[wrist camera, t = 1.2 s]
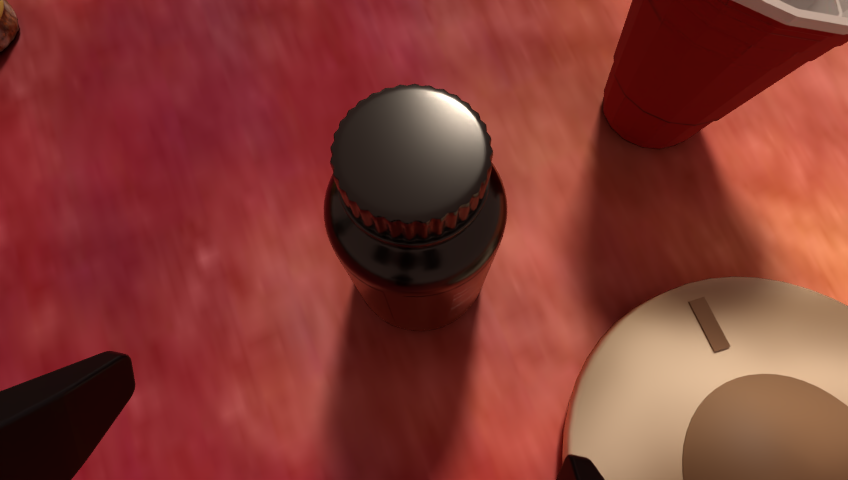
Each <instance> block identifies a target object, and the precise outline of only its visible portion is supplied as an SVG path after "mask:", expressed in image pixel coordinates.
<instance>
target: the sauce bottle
mask: <svg viewBox="0 0 848 480" xmlns="http://www.w3.org/2000/svg"><path fill="white" fill-rule="evenodd" d="M18 30H19V27H18V19H17V17H16V14H15V12H14V10H13V9H12V7H11V5H10V4H9V3H8V1H7V0H0V52H1V51H3V50H4V48H6V47H7V46H8V45H9V43H10V42H11V41H12V40H13V39H14V37H15V35H16V33H17V31H18Z"/></svg>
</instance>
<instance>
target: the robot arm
mask: <svg viewBox="0 0 848 480" xmlns="http://www.w3.org/2000/svg"><path fill="white" fill-rule="evenodd" d="M134 389H135V379H134V373H133V367H132V361H131V358H130V357H129V356H128V355H126V354H123V353H118V352H114V351H106V352H103V353H100V354H98V355H95V356H92V357H90V358H87V359H84V360H82V361H79V362H77V363H74V364H71V365H69V366H66V367H63V368H61V369H58V370H55V371H53V372H50V373H48V374H45V375H42V376H40V377H37V378H34V379H32V380H29V381H26V382H24V383H21V384H19V385H16V386H13V387H11V388H8V389H5V390H3V391H0V480H71V479H72V478H73V477H74V475H75V474H76V473H77V472H78V470H79V469H80V468H81V467H82V465H83V464H84V463H85V461H86V460H87V459H88V457H89V456H90V455H91V453H92V452H93V450H94V449H95V448H96V446H97V445H98V443H99V442H100V441H101V439H102V438H103V436H104V435H105V433H106V432H107V431H108V429H109V428H110V426H111V425H112V424H113V422H114V421H115V419H116V418H117V416H118V415H119V414H120V412H121V411H122V409H123V408H124V407H125V405H126V404H127V402H128V401H129V399H130V398H131V396H132V395H133V392H134ZM556 480H605V479H604V478H603V476H602V475H601V473H600V472H599V471H598V469H597V468H596V466H595V465H594V463H593V462H592V461H591V460H590V459H588V458H586V457H582V456H577V455H573V454H569V455H567V456H566V458H565V460H564V462H563V464H562V467H561V469H560V472H559V474H558V477H557V479H556Z"/></svg>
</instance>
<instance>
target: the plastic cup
mask: <svg viewBox="0 0 848 480" xmlns="http://www.w3.org/2000/svg"><path fill="white" fill-rule="evenodd" d="M846 42H848V0H632V3H631V6H630V9H629V12H628V15H627V18H626V21H625V24H624V27H623V30H622V33H621V36H620V39H619V42H618V45H617V48H616V51H615V54H614V63H613V65H612V68H611V71H610V74H609V77H608V80H607V83H606V86H605V89H604V98H603V113H604V115H605V117H606V119H607V121H608V123H609V125H610V127H611V128H612V129H613V130H615V131H616V132H617V133H618V134H619V135H620V136H621V137H622V138H623V139H625V140H627V141H629V142H632V143H634V144H636V145H638V146H640V147H648V148H656V149H661V148H665V147H669V146H673V145H676V144H678V143H679V142H683V141H685V140H687V139H688V138H690V137H691V136H692V135H694V134H695V133H697V132H698V131H700V130H701V129H703V128H704V127H706V126H707V125H708V124H710V123H711V122H713V121H717V120H719V119H721V118H722V117H724V116H725V115H727V114H728V113H730V112H731V111H733V110H734V109H736V108H737V107H739V106H740V105H742V104H744V103H745V102H747V101H748V100H750V99H751V98H753V97H754V96H756V95H757V94H759V93H760V92H762V91H763V90H765V89H766V88H768V87H770V86H771V85H773V84H774V83H776V82H777V81H779V80H780V79H782V78H783V77H785V76H786V75H788V74H789V73H791V72H792V71H794V70H796V69H797V68H799V67H800V66H802V65H803V64H805V63H806V62H808V61H813V60H815V59H816V58H818V57H819V56H821V55H823V54H824V53H826V52H827V51H829V50H831V49H832V48H834V47H837V46H841V45H843V44H844V43H846Z"/></svg>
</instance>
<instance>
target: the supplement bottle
mask: <svg viewBox="0 0 848 480" xmlns="http://www.w3.org/2000/svg"><path fill="white" fill-rule="evenodd" d="M490 145H491V137H490V136H489V134H488V133H487V129H486V124H485V123H484V122H483V121H481V120H480V116H479V113H477V112H476V111H474V110H472V108H471V106H470V105H469V103H467V102H464V101H462V100H461V99H460V98H459V97H458V96H457V95H454V94H449V93H448V92H447V91H445V90H444V89H435V88H433V87H432V86H419V85H417V84H412V85H408V86H406V85H398V86H396V87H394V88H385V89H383V90H382V91H381V92H378V93H373V94H371V95H370V96H369V97H368V98H367V99H364V100H361V101H359V102H358V104H357V105H356V107H354V108H352V109H351V110H349V111H348V113H347V116H346V117H345V118H344V119H343V120H341V121H340V124H339V129H338V130H337V131H336V132H335V133H334V142H333V144H332V146H331V153H332V157H331V161H330V164H331V167H332V170H333V175H332V177H331V179H330V181H329V184H328V187H327V190H326V195H325V200H324V221H325V227H326V231H327V235H328V237H329V240H330V243H331V245H332V247H333V249H334V251H335V253H336V255H337V257H338V259H339V260H340V262H341V263H342V265H343V267H344V268H345V270H346V272H347V273H348V275H349V276H350V278H351V280H352V281H353V283H354V285H355V286H356V288H357V289H358V291H359V293H360V294H361V296H362V297H363V299H364V301H365V302H366V303H367V305H368V306H369V307H370V308H371V310H372V311H373V312H374V313H375V314H377V315H378V316H379V317H380V318H381V319H383V320H384V321H386V322H388V323H390V324H392V325H394V326H396V327H399V328H402V329H407V330H413V331H426V330H433V329H437V328H440V327H443V326H445V325H448V324H450V323H452V322H453V321H455V320H456V319H458V318H459V317H460V316H462V315H463V314H464V313H465V312H466V311H467V310H468V309H469V308H470V306H471V305H472V304H473V302H474V301H475V299H476V297H477V296H478V294H479V292H480V290H481V287H482V285H483V283H484V280H485V278H486V276H487V273H488V271H489V269H490V266H491V264H492V262H493V259H494V257H495V255H496V252H497V250H498V248H499V245H500V242H501V240H502V237H503V233H504V229H505V225H506V219H507V199H506V193H505V189H504V186H503V182H502V180H501V178H500V175H499V173H498V171H497V170H496V168H495V166H494V165H493V163H492V162H491V161H492V157H493V150H492V148H491V146H490Z"/></svg>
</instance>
